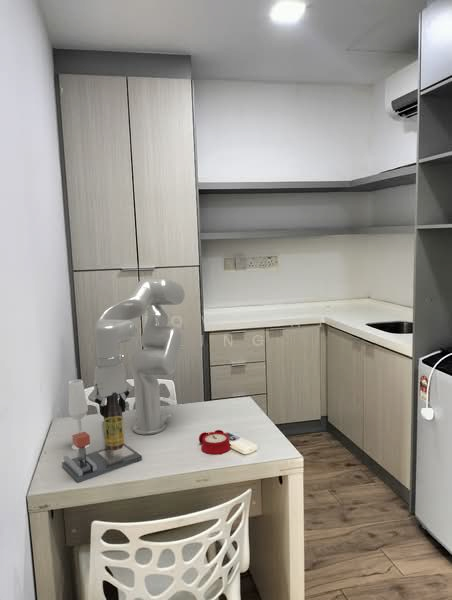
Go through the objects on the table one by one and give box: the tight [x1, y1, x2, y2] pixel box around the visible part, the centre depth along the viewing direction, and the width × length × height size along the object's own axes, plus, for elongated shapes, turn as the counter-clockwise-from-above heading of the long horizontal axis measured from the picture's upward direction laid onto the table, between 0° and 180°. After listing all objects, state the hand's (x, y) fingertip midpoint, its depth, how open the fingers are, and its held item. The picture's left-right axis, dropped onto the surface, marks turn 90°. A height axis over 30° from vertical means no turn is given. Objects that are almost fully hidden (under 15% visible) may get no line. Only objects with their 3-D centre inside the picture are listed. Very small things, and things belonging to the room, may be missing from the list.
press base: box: [61, 420, 143, 484], centre depth 155 cm, size 22×14×12 cm, turn 128°
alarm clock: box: [198, 429, 232, 456], centre depth 166 cm, size 10×6×15 cm
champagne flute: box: [68, 379, 91, 450], centre depth 169 cm, size 7×7×24 cm
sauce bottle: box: [103, 392, 125, 451], centre depth 157 cm, size 7×6×20 cm
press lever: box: [71, 431, 91, 473], centre depth 148 cm, size 4×5×11 cm
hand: (113, 413), depth 157 cm, fingers closed on sauce bottle, 5 cm apart
